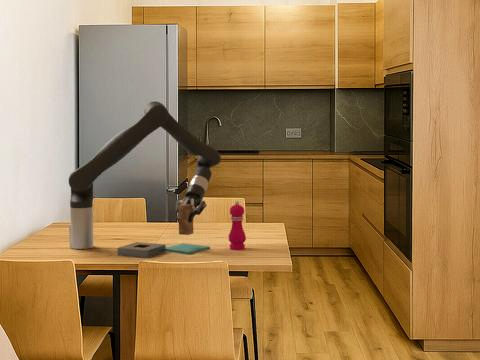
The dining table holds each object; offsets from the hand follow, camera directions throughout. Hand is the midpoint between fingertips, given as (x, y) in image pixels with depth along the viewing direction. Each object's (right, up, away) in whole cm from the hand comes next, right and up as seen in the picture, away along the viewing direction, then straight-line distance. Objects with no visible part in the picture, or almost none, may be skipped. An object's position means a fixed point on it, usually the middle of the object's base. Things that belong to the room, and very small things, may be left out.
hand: (183, 221), depth 315 cm
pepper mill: (+22, -12, +5) cm, 26 cm away
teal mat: (+1, -12, +3) cm, 12 cm away
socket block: (-17, -13, -4) cm, 21 cm away
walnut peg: (+1, -5, +2) cm, 6 cm away
